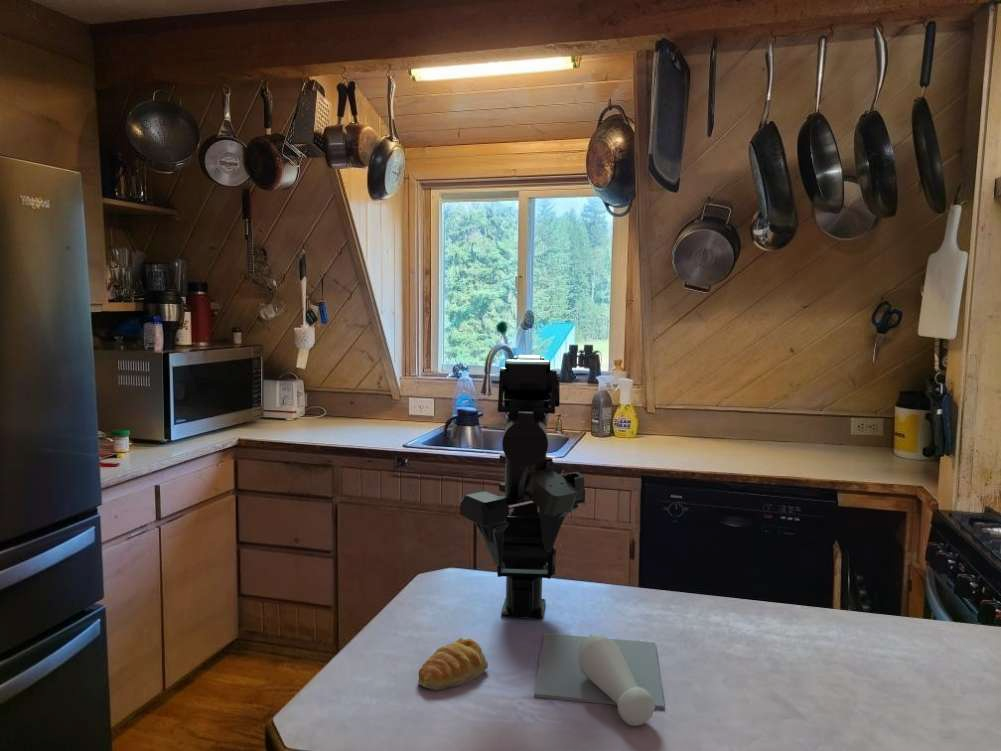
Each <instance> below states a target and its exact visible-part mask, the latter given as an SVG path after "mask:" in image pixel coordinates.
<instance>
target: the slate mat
mask: <svg viewBox="0 0 1001 751" xmlns="http://www.w3.org/2000/svg"><path fill="white" fill-rule="evenodd" d="M587 637H588V636H580V635H571V634H570V635H568V634H557V633H546V632H545V633H544V634H543V640H542V644H541V645H542V647H541V653H540V658H539V661H538V662H539V663H538V669H537V674H536V680H535V685H534V686H535V687H534V692H533V698H535V697H536V698H544V699H554V700H565V701H572V702H574V701H575V702H584V703H585V702H586V703H595V704H606V705H614V706H615V705H617V706H618V704H617V703H616V702H615V701H613V700H612V699H611V698H610V697H609V696H608V695H607V694H606V693H604V692H603V691H602V690H601V689H600V688H599V687H597V686H596V685H595V684H594V683H593V682H592V681H590V680H589V679H588V678H587V677H586V676H585V675H584V674H583V672H582V671H581V669H580V665H579V657H578V654H579V645H580V643H581V642H582V641H584V640H585V639H586V638H587ZM611 639H612V640H614V641H615V642H616V644H617V645H618V646H619V648H620V650H621V652H622V654H623V656H624V658H625V660H626V663H627V665H628V667H629V669H630V671H631V673H632V675H633V678H634V680H635V682H636V684H637V686H638V687H641V688H644V689H646V690H647V692H648V693H649V694H650V695H651V697H652V698H653V700H654V703H655V709H657V710H665V703H664V695H663V688H662V682H661V674H660V667H659V660H658V659H659V658H658V653H657V645H656V642H653V641H640V640H631V639H630V640H629V639H628V640H627V639H620V638H619V639H618V638H611Z"/></svg>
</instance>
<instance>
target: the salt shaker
mask: <svg viewBox="0 0 1001 751" xmlns="http://www.w3.org/2000/svg"><path fill="white" fill-rule="evenodd" d="M586 637H587V638H586V639H585V640H584V641H582V642H581V643H580V645H579V654H578V657H579V665H580V669H581V671H582V672H583V674H584V675H585V676H586V677H587V678H588V679H589V680H590V681H592V682H593V683H594V684H595V685H596V686H597V687H599V688H600V689H601V690H602V691H603V692H604V693H606V694H607V695H608V696H609V697H610V698H611V699H612V700H613V701H615V702H616V703H617V704H618V705H617V712H618V714H619V716H620V717H621V719H623V721H624V722H625V723H626V724H627V725H628V726H632V727H637V726H643V725H644V724H645V723H647V722H648V721H649V720H650V719H651V717H653V714H654V711H655V709H656V708H655V703H654V700H653V698H652V697H651V695H650V694H649V693H648V692H647V690H646V689H644V688H641V687H638V686H637V684H636V682H635V680H634V678H633V675H632V673H631V671H630V669H629V667H628V665H627V663H626V660H625V658H624V656H623V654H622V652H621V650H620V648H619V646H618V645H617V644H616V642H615V641H614V640H612V639H613V638H610V637H606V636H603V635H597V634H590V635H589V634H588V636H586Z"/></svg>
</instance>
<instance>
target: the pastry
mask: <svg viewBox="0 0 1001 751" xmlns="http://www.w3.org/2000/svg"><path fill="white" fill-rule="evenodd" d="M488 666H489V664H488V660H487V659H486V655H485V654H484V652H483V650H482V648H481V646H480V644H479V643H477V642H476V641H475V640H473V639H471V638H459V639H457V640H456V641H454V642H452V643H450V644H446V645H444V646H443V645H442V646H441V647H439V648H438V649H436V651H435V652H434V653H433V654H431V656H429V658H427V660H426V661H425V662H424V663H423V664H422V665H421V667H420V669H419V670H418V680H417V681H418V685H420V686H422V687H424V688H426V689H429V690H430V689H431V690H434V691H442V690H444V689H448V688H452V687H461V686H462V685H464V684H466V683H468V682H470V681H472V680H474V679H476V678H478V677H480V676H482V674H484V673H485V672H486V671H487V669H488Z"/></svg>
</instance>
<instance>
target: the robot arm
mask: <svg viewBox="0 0 1001 751" xmlns="http://www.w3.org/2000/svg"><path fill="white" fill-rule="evenodd" d="M498 376H499V379H498V381H499V382H498V395H497V397H498V400H497V401H498V402H497V413H507V415H505V429H504V433H503V437H502V443H501V445H502V451H503V453H504V454H500V455H499V463H500V464H504V471H505V472H504V482H502V483H498V491H499V492H502V493H504V495H501V496H499V495H496V494H495V493H494V494H493V493H491V492H488V491H487V490H486V491H485V490H484V491H479V492H474V493H468V494H465V495H464V496H463V497H462V498H461V500H460V503H459V507H460V508H459V515H460V516H461V517H464V518H467V519H468V521H471V522H472V523H474V524H475V525H476V527H477V529H478V530H479V532H480V533H481V536H482V537H483V540H484V542H485V544H486V547H487V549H488V551H489V554H490V556H491V558H492V560H493V563H494V564H495V565H496V567H497V576H496V577H498V578H501V577H506V578H505V581H506V582H505V583H506V584H505V599H504V602H503V605H502V607H501V611H500V616H501V617H506V618H507V617H508V618H519V619H520V618H521V619H531V620H532V619H533V620H534V619H535V620H542V619H543V617H544V612H545V608H546V607H545V606H546V599H545V598H542V597H543V595H542V594H543V579H550V580H551V578H552V576H553V575H556V558H557V549H556V548H555V547H554V545H555V543H556V540H557V537H558V534H559V533H560V529H561V526H562V525H563V522H564V520H565V518H566V517H567V515H569V514H570V513H571V512H573V511H574V510H577V509H579V504H583V503H586V501H585V500H586V489H585V476H584V475H582V473H580V472H579V471H574V472H568V473H567V474H565V473H560V474H558V473H556V471H555V468H554V466H555V463H554V461H553V458H552V457H549V456H547V453H548V448H549V438H548V423H549V414H552V415H553V414H556V407H557V408H558V407H560V404H561V403H560V402H561V400H560V399H561V397H560V395H561V394H560V392H561V391H560V388H561V387H560V376H559V375H558V371H557V370H556V368H553V367H552V368H551V361H550V360H547V359H545V356H541V355H540V354H538V355H537V354H518V355H515V356H514V357H513V359H506V360H505V362H504V367H503V366H501V367H500V368H499V375H498ZM512 509H513V510H512ZM510 510H512V511H511V513H510Z"/></svg>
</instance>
